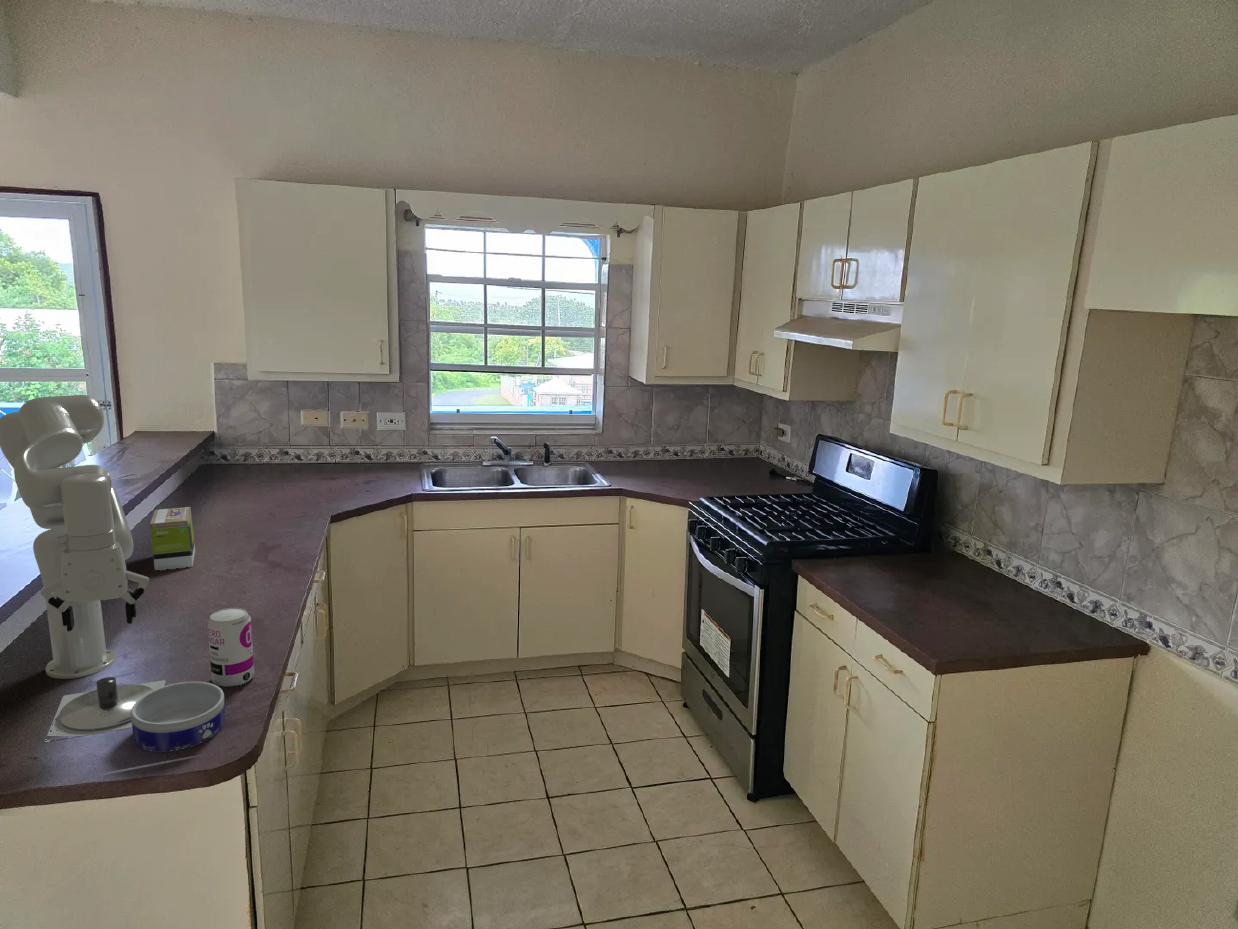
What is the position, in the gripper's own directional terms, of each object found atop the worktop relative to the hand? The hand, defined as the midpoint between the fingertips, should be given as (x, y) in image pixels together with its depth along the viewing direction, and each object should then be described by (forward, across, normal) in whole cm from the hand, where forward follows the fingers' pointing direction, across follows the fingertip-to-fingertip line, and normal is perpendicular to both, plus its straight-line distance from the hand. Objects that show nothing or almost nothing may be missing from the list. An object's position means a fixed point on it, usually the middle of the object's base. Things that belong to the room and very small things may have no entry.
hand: (101, 624), depth 152 cm
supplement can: (+18, +22, +5) cm, 29 cm away
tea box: (+19, +7, +89) cm, 91 cm away
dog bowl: (+18, +13, -13) cm, 26 cm away
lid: (+18, 0, 0) cm, 18 cm away
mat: (+18, 0, 0) cm, 18 cm away
